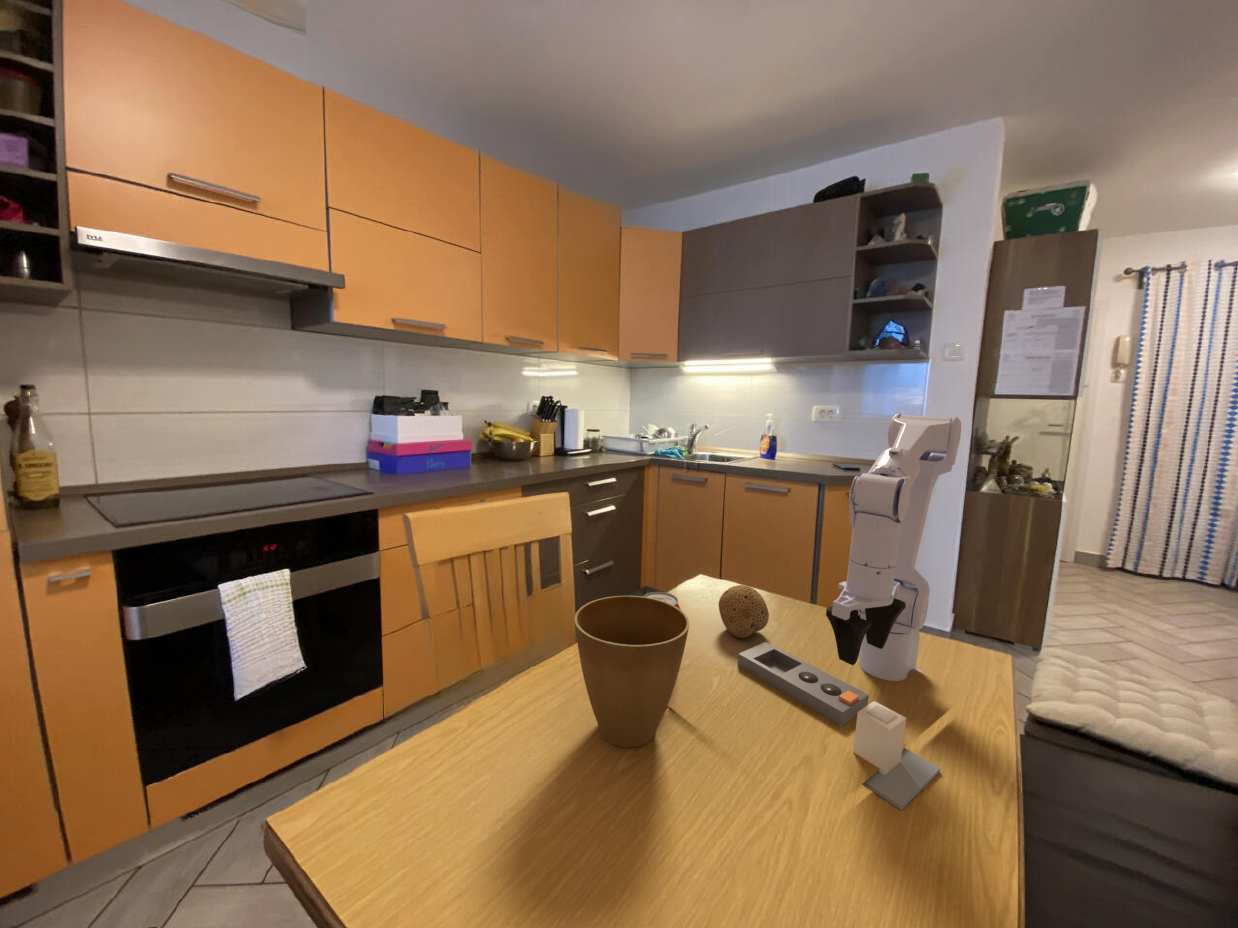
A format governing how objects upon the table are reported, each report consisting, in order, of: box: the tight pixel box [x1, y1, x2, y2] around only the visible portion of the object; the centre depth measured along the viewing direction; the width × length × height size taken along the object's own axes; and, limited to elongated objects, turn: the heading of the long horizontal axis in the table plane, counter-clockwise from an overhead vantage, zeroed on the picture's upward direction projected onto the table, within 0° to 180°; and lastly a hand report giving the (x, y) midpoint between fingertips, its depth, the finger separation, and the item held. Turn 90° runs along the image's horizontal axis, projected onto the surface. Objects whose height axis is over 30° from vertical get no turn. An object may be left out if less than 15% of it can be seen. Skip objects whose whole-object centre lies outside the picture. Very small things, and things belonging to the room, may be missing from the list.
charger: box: [852, 700, 907, 775], centre depth 63 cm, size 4×4×6 cm
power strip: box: [737, 641, 870, 727], centre depth 78 cm, size 7×18×4 cm, turn 37°
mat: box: [862, 747, 941, 811], centre depth 63 cm, size 10×10×1 cm
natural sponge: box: [718, 584, 770, 639], centre depth 93 cm, size 9×9×10 cm
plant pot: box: [574, 595, 690, 748], centre depth 67 cm, size 15×15×16 cm
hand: (861, 653), depth 71 cm, fingers open, 7 cm apart
